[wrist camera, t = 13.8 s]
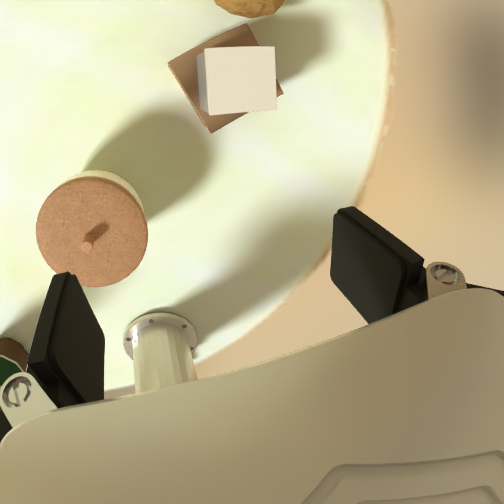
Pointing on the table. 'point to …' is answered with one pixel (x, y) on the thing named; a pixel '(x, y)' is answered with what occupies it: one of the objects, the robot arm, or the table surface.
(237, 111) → the beige cube
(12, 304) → the table surface
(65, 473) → the robot arm
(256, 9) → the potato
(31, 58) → the table surface
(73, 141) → the table surface
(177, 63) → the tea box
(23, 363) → the beer bottle
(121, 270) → the lidded bowl
